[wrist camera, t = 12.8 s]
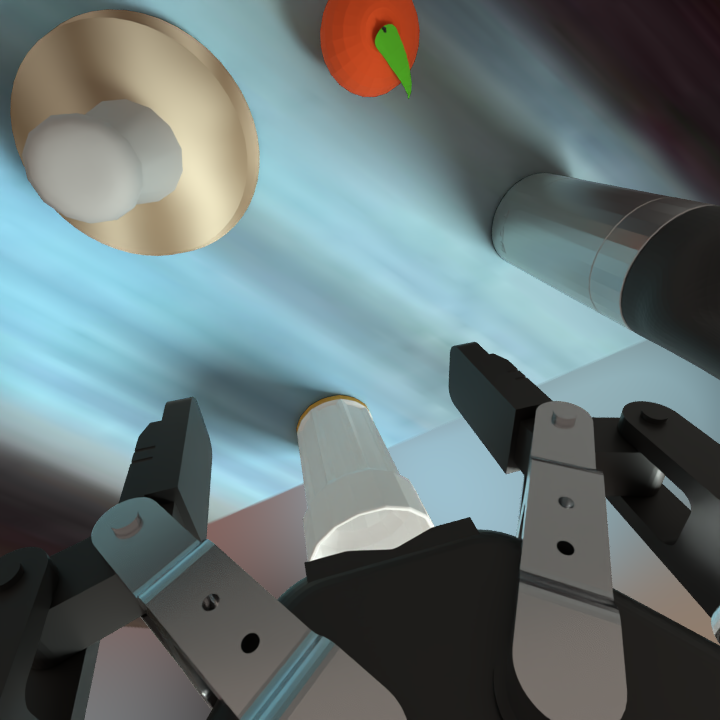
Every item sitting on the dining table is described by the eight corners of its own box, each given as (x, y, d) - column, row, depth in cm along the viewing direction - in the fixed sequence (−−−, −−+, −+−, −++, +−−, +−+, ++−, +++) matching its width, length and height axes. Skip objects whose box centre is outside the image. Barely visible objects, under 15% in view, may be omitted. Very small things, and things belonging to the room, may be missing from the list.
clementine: (423, 69, 34) (463, 60, 28) (358, 130, 35) (382, 133, 29) (366, -40, 30) (398, -78, 24) (293, 32, 31) (306, 13, 25)
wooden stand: (233, 7, 29) (233, -11, 25) (275, 236, 38) (279, 252, 34) (-24, 18, 27) (-73, 0, 22) (82, 263, 35) (61, 284, 31)
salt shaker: (202, 180, 30) (182, 218, 19) (125, 210, 29) (60, 266, 19) (155, 85, 26) (99, 66, 16) (69, 118, 26) (-50, 122, 15)
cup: (272, 407, 47) (289, 540, 32) (368, 373, 48) (426, 487, 33) (304, 474, 53) (329, 611, 38) (388, 443, 54) (444, 565, 39)
